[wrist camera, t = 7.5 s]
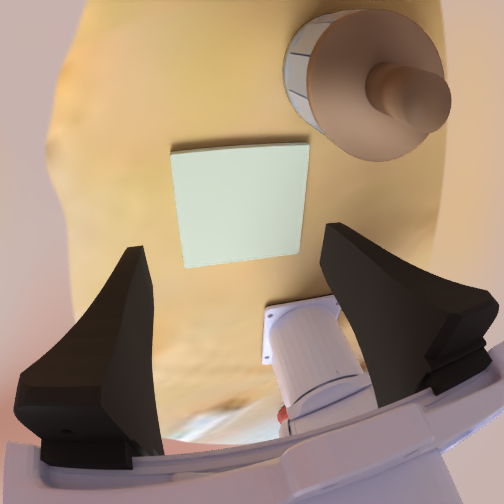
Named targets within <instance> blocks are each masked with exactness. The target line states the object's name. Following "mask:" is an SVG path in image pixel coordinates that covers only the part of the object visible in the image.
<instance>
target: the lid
mask: <svg viewBox="0 0 504 504" xmlns="http://www.w3.org/2000/svg"><path fill="white" fill-rule="evenodd" d="M306 90H307V97H308V102H309V106H310V109H311V112H312V114H313V116H314V119H315V121H316V123H317V124H318V126H319V127H320V129H321V130H322V132H323V133H324V134H325V135H326V137H327V138H328V139H330V140H331V141H332V142H333V143H334V144H335V145H337V146H338V147H339V148H341V149H342V150H343V151H345V152H346V153H348V154H350V155H352V156H354V157H356V158H359V159H362V160H366V161H373V162H381V161H389V160H393V159H396V158H399V157H401V156H404V155H405V154H407V153H409V152H411V151H412V150H413V149H415V148H416V147H417V146H418V145H419V144H420V143H422V142H423V141H424V139H425V138H426V137H427V136H428V135H429V133H432V132H434V131H436V130H438V129H439V128H440V127H441V126H442V125H443V124H444V123H445V121H446V120H447V118H448V116H449V113H450V109H451V93H450V89H449V87H448V85H447V83H446V81H445V80H444V71H443V66H442V62H441V59H440V56H439V54H438V51H437V49H436V47H435V45H434V44H433V42H432V41H431V39H430V38H429V36H428V35H427V34H426V33H425V31H424V30H423V29H422V28H421V27H420V26H418V25H417V24H416V23H415V22H413V21H412V20H410V19H409V18H407V17H405V16H403V15H401V14H399V13H396V12H393V11H388V10H361V11H355V12H352V13H349V14H346V15H345V16H343V17H341V18H339V19H337V20H336V21H335V22H333V23H332V24H331V25H330V26H329V27H328V28H327V29H326V30H325V31H324V32H323V33H322V35H321V36H320V37H319V39H318V40H317V42H316V44H315V46H314V48H313V50H312V53H311V55H310V58H309V62H308V67H307V75H306Z"/></svg>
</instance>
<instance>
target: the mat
mask: <svg viewBox="0 0 504 504" xmlns="http://www.w3.org/2000/svg"><path fill="white" fill-rule="evenodd" d="M309 150H310V145H309V144H308V143H307V142H301V143H271V144H252V145H237V146H223V147H212V148H201V149H191V150H182V151H174V152H170V158H171V168H172V177H173V185H174V194H175V202H176V210H177V217H178V225H179V232H180V239H181V246H182V253H183V259H184V266H185V268H193V267H200V266H208V265H216V264H223V263H231V262H239V261H246V260H254V259H261V258H269V257H276V256H284V255H291V254H299V247H300V238H301V230H302V221H303V211H304V202H305V192H306V182H307V172H308V161H309Z"/></svg>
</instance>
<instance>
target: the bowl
mask: <svg viewBox="0 0 504 504" xmlns="http://www.w3.org/2000/svg"><path fill="white" fill-rule="evenodd" d="M361 10H369V9H360V10H346V11H339V12H336V13H330V14H325V15H322V16H319V17H317V18H315V19H313V20H311V21H309V22H308V23H306V24H305V25H304V26H303V27H302V28H300V29H299V30H298V31H297V33H296V34H295V35H294V37H293V38H292V40H291V42H290V43H289V45H288V48H287V50H286V53H285V57H284V61H283V82H284V87H285V91H286V94H287V96H288V99H289V101H290V103H291V104H292V106H293V108H294V109H295V111H296V112H297V113H298V114H299V115H300V117H302V118H303V119H304V120H305V121H306V122H307V123H308V124H310V125H311V126H313V127H314V128H316V129H317V130H319V131H320V132H321V133H323V132H322V130H321V129H320V127H319V126H318V124H317V123H316V121H315V119H314V116H313V114H312V112H311V109H310V106H309V102H308V97H307V90H306V75H307V67H308V62H309V58H310V55H311V53H312V50H313V48H314V46H315V44H316V42H317V40H318V39H319V37H320V36H321V35H322V33H323V32H324V31H325V30H326V29H327V28H328V27H329V26H330V25H331V24H332V23H333V22H335V21H336V20H337V19H339V18H341V17H343V16H345V15H346V14H349V13H352V12H355V11H361ZM323 134H324V133H323ZM324 135H325V134H324Z"/></svg>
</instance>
